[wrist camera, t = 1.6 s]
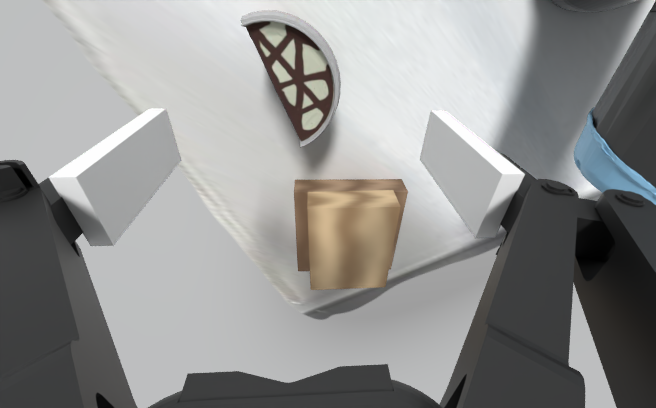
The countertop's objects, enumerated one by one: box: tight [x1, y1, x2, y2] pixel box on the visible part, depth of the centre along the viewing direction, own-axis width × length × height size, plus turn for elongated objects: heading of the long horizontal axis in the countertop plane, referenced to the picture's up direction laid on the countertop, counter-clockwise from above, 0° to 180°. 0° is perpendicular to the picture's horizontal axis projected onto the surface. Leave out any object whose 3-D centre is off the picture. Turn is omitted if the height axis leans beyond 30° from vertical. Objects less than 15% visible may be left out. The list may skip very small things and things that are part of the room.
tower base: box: [294, 179, 408, 271], centre depth 46 cm, size 16×16×4 cm
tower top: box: [307, 190, 401, 290], centre depth 43 cm, size 12×16×4 cm
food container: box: [241, 11, 341, 148], centre depth 29 cm, size 12×6×10 cm, turn 21°
